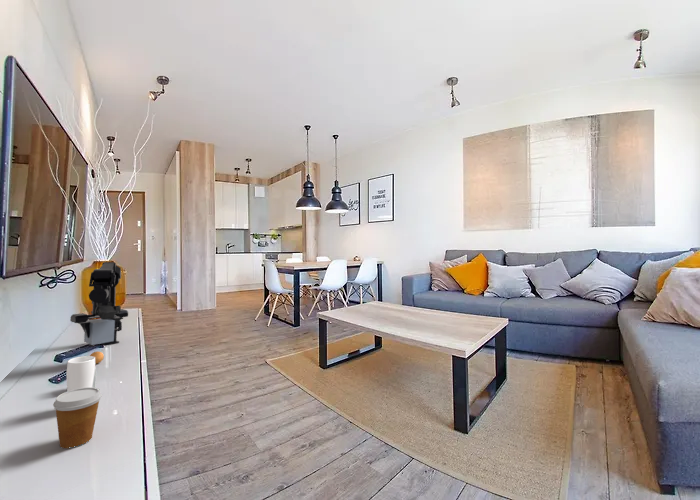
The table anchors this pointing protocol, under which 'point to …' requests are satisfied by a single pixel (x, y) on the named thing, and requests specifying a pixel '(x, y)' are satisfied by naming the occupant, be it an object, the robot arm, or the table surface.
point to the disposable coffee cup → (76, 415)
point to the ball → (97, 356)
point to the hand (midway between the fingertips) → (99, 336)
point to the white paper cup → (80, 372)
